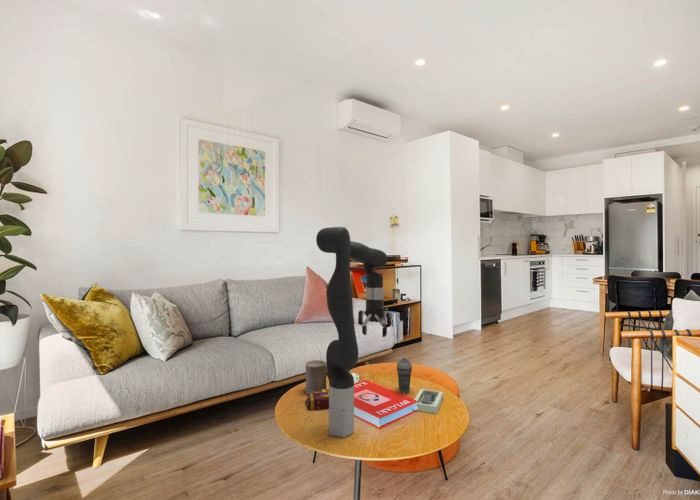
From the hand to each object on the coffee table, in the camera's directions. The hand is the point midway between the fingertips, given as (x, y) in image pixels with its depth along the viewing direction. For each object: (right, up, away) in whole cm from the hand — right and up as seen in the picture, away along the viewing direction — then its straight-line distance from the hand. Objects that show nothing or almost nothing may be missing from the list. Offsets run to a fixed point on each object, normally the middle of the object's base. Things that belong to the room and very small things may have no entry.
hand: (374, 335), depth 166 cm
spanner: (+23, -30, +1) cm, 37 cm away
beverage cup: (+15, -30, +16) cm, 37 cm away
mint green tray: (+23, -30, +2) cm, 38 cm away
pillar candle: (-26, -30, +15) cm, 43 cm away
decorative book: (-22, -31, +2) cm, 38 cm away
